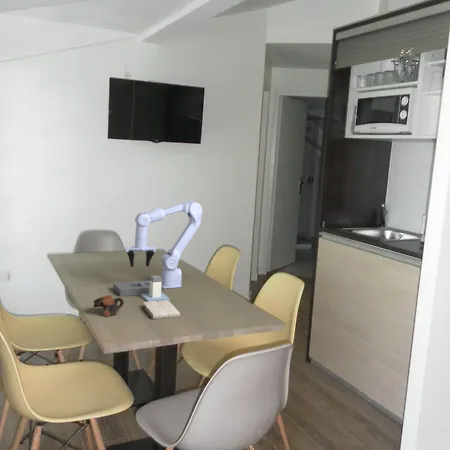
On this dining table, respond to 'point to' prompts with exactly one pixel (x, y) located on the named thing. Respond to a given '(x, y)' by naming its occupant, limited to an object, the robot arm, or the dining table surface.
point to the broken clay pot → (109, 304)
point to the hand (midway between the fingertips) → (139, 266)
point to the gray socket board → (132, 288)
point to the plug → (155, 286)
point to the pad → (149, 298)
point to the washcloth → (161, 309)
